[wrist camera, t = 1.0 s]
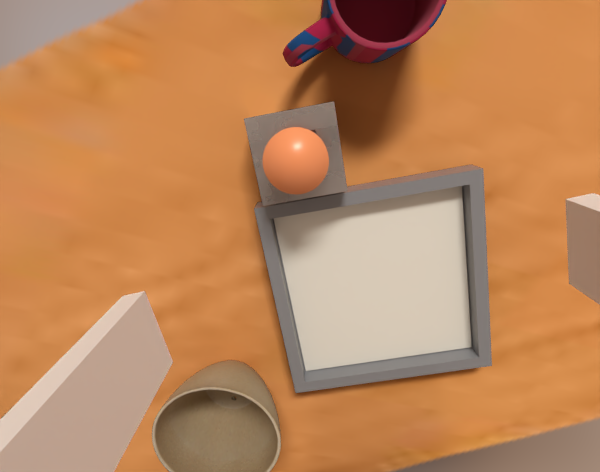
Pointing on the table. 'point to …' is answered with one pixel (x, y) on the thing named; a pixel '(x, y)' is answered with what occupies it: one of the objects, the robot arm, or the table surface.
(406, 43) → the cup
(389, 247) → the tray
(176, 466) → the flower pot
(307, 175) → the button
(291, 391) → the table surface
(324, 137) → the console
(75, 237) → the table surface
